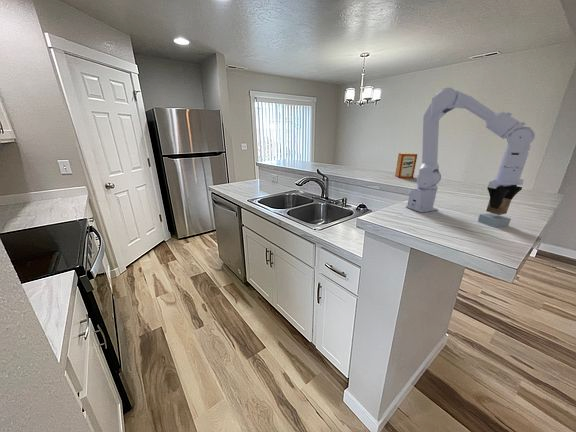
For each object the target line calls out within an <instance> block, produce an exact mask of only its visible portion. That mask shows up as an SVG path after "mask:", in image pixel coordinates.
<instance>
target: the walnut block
mask: <svg viewBox="0 0 576 432" xmlns="http://www.w3.org/2000/svg"><path fill="white" fill-rule="evenodd" d="M511 201H512V200H511V199H507V198H504V199H503V200H502V202H501V205H500V206H499V208H498V209H496V208H492V207H490V199H489V201H488V203H487V207H486V210H485V212H488V213H494V214H497V215H501V216H503V215H506V214H507V213H508V210H509V208H510V204H511Z"/></svg>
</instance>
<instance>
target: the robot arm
mask: <svg viewBox="0 0 576 432" xmlns="http://www.w3.org/2000/svg"><path fill="white" fill-rule="evenodd" d="M454 109H466V110H467V111H469V112H470V113H472V114H473V115H475V116H477V117H478V118H480V119H482V120H483V121H485V128H486V129H488V130H489V131H491V132H492V133H494V134H495V135H496V136H498V137H499V138H500V139H503V140H505V139H506V141H507V144H506V148H505V151H504V152H503V154H502V158H501V161H500V165H499V168H498V171H497V174H496V177H495V178H494V179H493V180H492V181H491V180H490V181H489V182H488V185H487V192H488V194H489V200H490V207H492V208H496V209H498V208H499V206H500V205H501V202H502V200H503V199H504V198H507V199H511V201H513V198H515V196H516V195H517V194H518V193H520V191H522V189H523V187H522V186H523V184H524V180H525V179H523V178H521V177H522V173H523V170H524V168H525V166H526V165H525V164H526V162H527V161H528V160H527V159H528V156H529V151H530V149H531V144H532V143H533V141H534V139H535V138H536V134H535V131H534V129H532V127H530V126H526V125H527V124H526V122H524V121H522V122H521V121H519V119H516V118H514V117H513V116H512V115H513V114H512V112H509V111H507V112H505V111H502V110H501V111H498V112H494V111H493V110H492V109H490V107H488V106H486V105H484V103H481V102H480V101H479V100H477V99H476V98H474V97H473V96H472V95H468V94H467V93H463V92H462V91H460V90H456V89H454V88H453V87H445V88H443V89H440V90H439V91H438V92H437V93H436V94H435V95H434V96H433V97H432V98H431V102H430V104H429V106H428V107H427V109H426V111H425V113H424V115H423V121H422V150H421V151H422V152H421V153H422V154H421V155H422V156H421V158H422V159H421V160H422V161H421V165H420V168H419V173H418V175H417V177H416V184H417V185H416V187H415V188H414V189H412V190H410V192H409V195H408V199H407V204H406V205H405V208H407V209H410V210H413V211H416V212H419V213H425V212H433V211H438V210H439V209H438V208H437V207H434V204H435V201H436V196H437V192H438V187H439V186H437V184H439V182H441V180H442V174H441V173H440V172H441V171H439V170H440V166H439V163H438V154H439V153H438V151H439V130H440V120H441V118H443V116H445V115H446V114H447V113H448V112H450V111H452V110H454Z"/></svg>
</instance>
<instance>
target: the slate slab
mask: <svg viewBox="0 0 576 432" xmlns="http://www.w3.org/2000/svg"><path fill="white" fill-rule="evenodd" d="M511 219H512V218H510V217H507V216H504V215H497V214H494V213H490V212H488V213H480V214H479V216H478V220H477V222H478V223H480V224H484V225H487V226H489V227H493V228H495V229H496V228H504V227H509V225H510V223H511Z"/></svg>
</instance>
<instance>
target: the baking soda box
mask: <svg viewBox="0 0 576 432" xmlns="http://www.w3.org/2000/svg"><path fill="white" fill-rule="evenodd" d="M397 157H398V158H397V163H396V168H395V169H396V170H395V175H394V176H395V177H396V178H398V179H414V174H415V169H416V163H417V160H418V153H413V152H399V153H398V156H397Z"/></svg>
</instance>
